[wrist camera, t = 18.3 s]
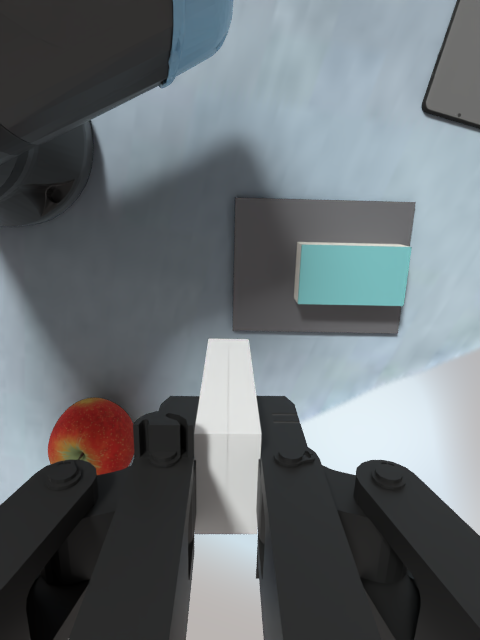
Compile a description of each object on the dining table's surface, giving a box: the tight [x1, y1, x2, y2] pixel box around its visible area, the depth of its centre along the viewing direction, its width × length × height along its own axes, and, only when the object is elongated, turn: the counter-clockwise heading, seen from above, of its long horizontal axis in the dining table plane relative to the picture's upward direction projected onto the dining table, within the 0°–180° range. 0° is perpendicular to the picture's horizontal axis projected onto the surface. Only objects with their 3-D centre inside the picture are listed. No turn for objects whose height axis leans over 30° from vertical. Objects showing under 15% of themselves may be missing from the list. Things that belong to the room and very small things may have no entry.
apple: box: [48, 398, 134, 475], centre depth 41 cm, size 8×8×10 cm
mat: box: [233, 198, 416, 333], centre depth 41 cm, size 17×13×1 cm
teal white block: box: [294, 242, 412, 306], centre depth 40 cm, size 3×6×10 cm
